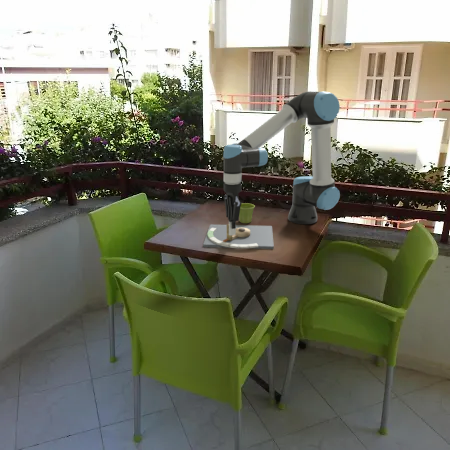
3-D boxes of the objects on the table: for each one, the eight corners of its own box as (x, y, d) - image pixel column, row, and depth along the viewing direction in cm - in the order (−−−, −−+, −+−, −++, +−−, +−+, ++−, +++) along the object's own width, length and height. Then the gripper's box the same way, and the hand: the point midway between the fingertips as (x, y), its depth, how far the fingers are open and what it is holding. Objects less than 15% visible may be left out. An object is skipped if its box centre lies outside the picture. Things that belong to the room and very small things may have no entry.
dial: (240, 229, 187) (240, 216, 184) (253, 233, 182) (254, 219, 179) (217, 240, 175) (216, 225, 172) (230, 244, 170) (230, 229, 167)
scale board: (271, 228, 193) (272, 224, 192) (273, 251, 166) (274, 247, 165) (210, 226, 195) (210, 222, 195) (202, 249, 168) (202, 245, 168)
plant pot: (253, 225, 197) (253, 209, 194) (235, 224, 199) (235, 208, 196) (255, 219, 206) (255, 203, 203) (238, 218, 208) (238, 202, 205)
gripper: (247, 184, 159) (246, 238, 167) (233, 178, 170) (233, 228, 178) (231, 186, 156) (230, 241, 164) (218, 180, 167) (218, 231, 175)
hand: (232, 234), depth 171 cm, fingers closed
